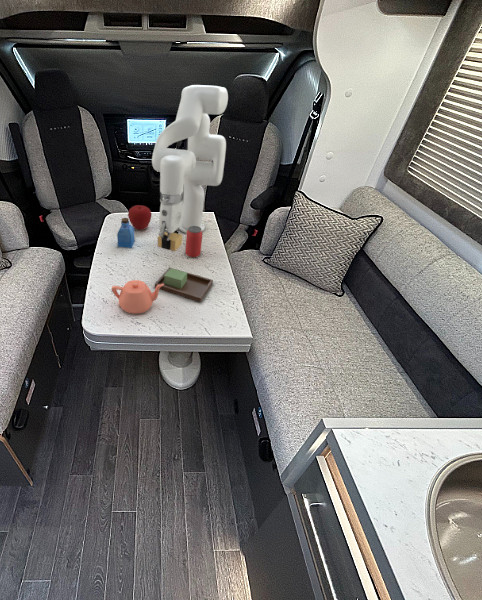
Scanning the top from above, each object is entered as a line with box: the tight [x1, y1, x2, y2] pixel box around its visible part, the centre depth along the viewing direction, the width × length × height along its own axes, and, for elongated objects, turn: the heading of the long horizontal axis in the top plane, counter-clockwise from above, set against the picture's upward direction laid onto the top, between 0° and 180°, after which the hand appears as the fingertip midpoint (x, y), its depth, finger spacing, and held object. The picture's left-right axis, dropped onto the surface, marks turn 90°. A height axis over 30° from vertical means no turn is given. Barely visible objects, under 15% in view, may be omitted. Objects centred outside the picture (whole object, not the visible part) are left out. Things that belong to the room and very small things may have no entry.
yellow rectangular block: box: [157, 232, 183, 252], centre depth 122 cm, size 6×7×4 cm
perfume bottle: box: [116, 217, 136, 249], centre depth 150 cm, size 6×6×12 cm
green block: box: [164, 267, 188, 289], centre depth 129 cm, size 6×7×4 cm
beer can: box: [185, 226, 203, 258], centre depth 144 cm, size 7×7×12 cm
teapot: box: [111, 279, 164, 315], centre depth 118 cm, size 12×18×10 cm
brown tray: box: [154, 266, 214, 303], centre depth 129 cm, size 13×19×2 cm
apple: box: [127, 204, 153, 231], centre depth 162 cm, size 11×11×12 cm
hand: (169, 244), depth 123 cm, fingers closed on yellow rectangular block, 5 cm apart
